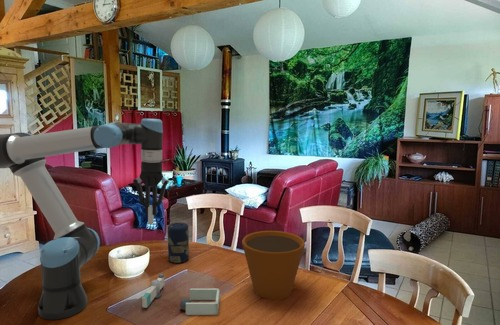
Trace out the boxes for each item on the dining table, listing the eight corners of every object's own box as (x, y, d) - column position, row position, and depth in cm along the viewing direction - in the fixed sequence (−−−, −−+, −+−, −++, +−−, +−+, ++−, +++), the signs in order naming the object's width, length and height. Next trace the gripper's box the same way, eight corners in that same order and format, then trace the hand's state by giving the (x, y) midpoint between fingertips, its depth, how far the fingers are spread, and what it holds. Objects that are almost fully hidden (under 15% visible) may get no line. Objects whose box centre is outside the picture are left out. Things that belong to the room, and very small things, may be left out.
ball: (180, 312, 121) (177, 300, 122) (182, 311, 124) (179, 299, 126) (191, 308, 121) (188, 296, 122) (193, 307, 125) (190, 296, 126)
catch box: (185, 314, 120) (185, 303, 120) (190, 298, 131) (189, 288, 130) (217, 314, 120) (217, 303, 120) (219, 298, 131) (219, 288, 130)
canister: (186, 264, 161) (186, 225, 158) (165, 264, 161) (165, 225, 158) (190, 256, 170) (190, 219, 168) (170, 255, 170) (170, 219, 168)
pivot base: (148, 298, 130) (148, 297, 130) (151, 292, 135) (151, 291, 135) (160, 298, 130) (160, 296, 130) (162, 292, 135) (162, 291, 135)
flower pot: (228, 290, 137) (229, 240, 135) (268, 271, 155) (269, 226, 152) (277, 314, 121) (278, 258, 119) (315, 289, 139) (317, 240, 136)
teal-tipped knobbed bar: (140, 307, 123) (140, 294, 122) (158, 284, 140) (158, 273, 139) (148, 307, 122) (148, 295, 122) (166, 284, 139) (165, 273, 139)
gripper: (130, 161, 127) (130, 225, 130) (167, 163, 127) (166, 226, 130) (136, 158, 134) (136, 219, 137) (171, 160, 135) (170, 220, 138)
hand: (150, 222), depth 134 cm, fingers closed
